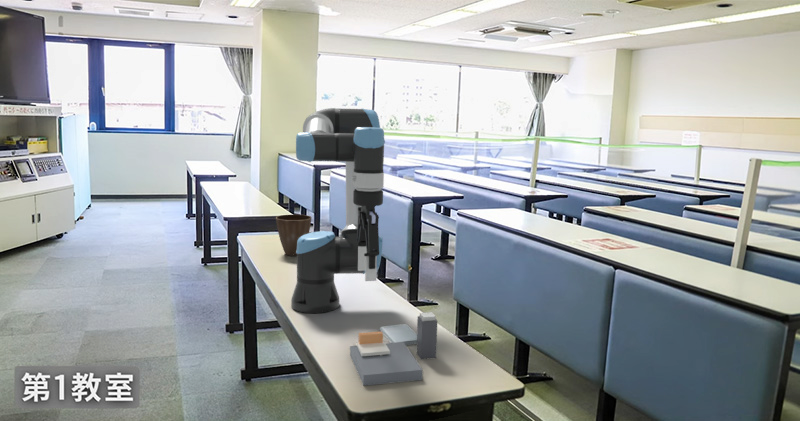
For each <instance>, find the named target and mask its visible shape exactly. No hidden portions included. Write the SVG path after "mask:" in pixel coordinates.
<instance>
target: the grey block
mask: <svg viewBox="0 0 800 421" xmlns="http://www.w3.org/2000/svg"><path fill="white" fill-rule="evenodd" d="M416 324H417V326H416V328H417V329H416V334H417V344H416V355H417V356H418V358H419V360H430V359H431V360H433V359H437V340H438V320H437V319H436V315H435V314H434V313H433V312H432V311H429V312H419V315H418V316H417V323H416Z"/></svg>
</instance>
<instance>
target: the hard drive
mask: <svg viewBox="0 0 800 421" xmlns="http://www.w3.org/2000/svg"><path fill="white" fill-rule="evenodd" d="M379 330H380V331H379V332H381V331H382V333H383V336H384V337H386V338H387V340H388V341H389V343H396V342H404V343H405V345H406V346H410V345H417V332H415V331H414V329H412V328H411V327H410V326H409V325H408V324H406V323H404V324H394V325H393V324H391V325H386V326H380V327H379Z"/></svg>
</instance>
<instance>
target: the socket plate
mask: <svg viewBox="0 0 800 421" xmlns="http://www.w3.org/2000/svg"><path fill="white" fill-rule="evenodd" d="M385 344H386V345H387V347H388V349H389V350H390V354H385V355H373V356H361V354H360V352H359V350H358V347H357V345H349V356H350V358H351V360H352V362H353V365H354V368H355V370H356V372H357V374H358V376H359V380H360V381H361V384H362V386H373V385H383V384H384V385H385V384H394V383H404V382H405V383H406V382H413V381H414V382H415V381H416V382H417V381H423V373H424V372H423V368H422V367H421V365H420V363H419V362H418V361H417V359H416V358H415V357H414V355H413V354H412V352H411V351H410V349H409V348H408V345H405V343H404V342H396V343H391V342H385Z"/></svg>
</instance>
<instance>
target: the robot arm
mask: <svg viewBox="0 0 800 421" xmlns="http://www.w3.org/2000/svg"><path fill="white" fill-rule="evenodd" d="M295 136H296V137H295V153H296V154H295V156H296V160H298V161H300V162H301V161H302V162H308V163H311V162H340V163H341V162H342V163H343V162H344V163H345V227H343V229H341V231H340V233H341V234H340V236H336V235H335V232H333V231H331V230H330V231H329V230H328V231H327V230H321V231H313V232H309V233H308V234H305V235H303V236H301V237H300V238H299V239H298V241H297V250H296V253H297V256H296V284H295V287H294V290H293V293H292V296H291V300H290V302H291V308H292V309H293V310H295V311H297V312H300V313H307V314H321V313H322V314H323V313H328V312H333V311H334V310H337V309H338V308H339V306H340V296H339V293H338V289H337V286H336V284H335V274H336V275H338V274H339V275H341V274H346V275H347V274H362V275H364V276H365V277H364V281H365V282H374V281H375V282H376V281H377V272H378V271H379V268H380V265H381V261H382V260H381V259H382V253H383V245H384V244H383V241H384V240H383V237H382V236H380V235H379V234H380V233H379V218H380V217H379V214H378V213H377V212H376V207H379V206H382V205H383V203H384V191H383V188H384V183H385V182H384V181H385V180H384V177H385V176H384V175H385V173H384V163H385V162H384V158H385V157H384V156H385V144H386V140H385V131H384V129H383V128H381V123H380V119H379V116H378V113H377V112H376V111H375V110H373V109H365V108H336V107H330V108H324V109H320V110H317V111H315V112H312V113H311V114H310V115H308V116H307V117H306V118H305V119H304V122H303V125H302V132H298V133H297V134H296V135H295Z"/></svg>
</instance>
